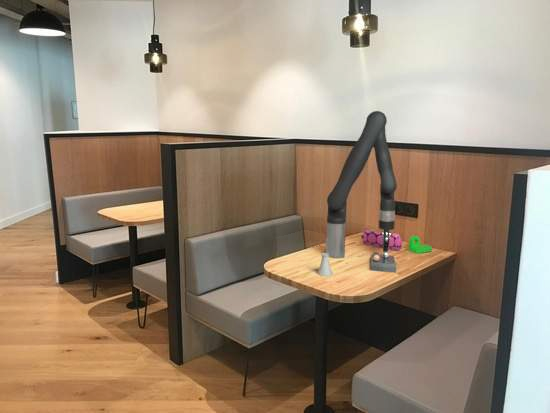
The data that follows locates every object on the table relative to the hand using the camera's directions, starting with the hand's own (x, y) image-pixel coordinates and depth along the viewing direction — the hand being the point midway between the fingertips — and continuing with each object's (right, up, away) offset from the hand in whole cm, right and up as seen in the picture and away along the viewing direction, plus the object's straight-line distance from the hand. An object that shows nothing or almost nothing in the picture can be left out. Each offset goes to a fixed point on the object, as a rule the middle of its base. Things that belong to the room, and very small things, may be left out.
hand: (385, 253), depth 216 cm
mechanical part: (+24, -1, +18) cm, 30 cm away
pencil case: (+4, 0, +24) cm, 25 cm away
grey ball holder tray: (-3, -5, -9) cm, 10 cm away
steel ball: (-1, 0, -5) cm, 5 cm away
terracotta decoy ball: (-7, -1, -10) cm, 12 cm away
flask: (-33, -8, -22) cm, 40 cm away
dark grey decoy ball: (-6, 0, -6) cm, 8 cm away
